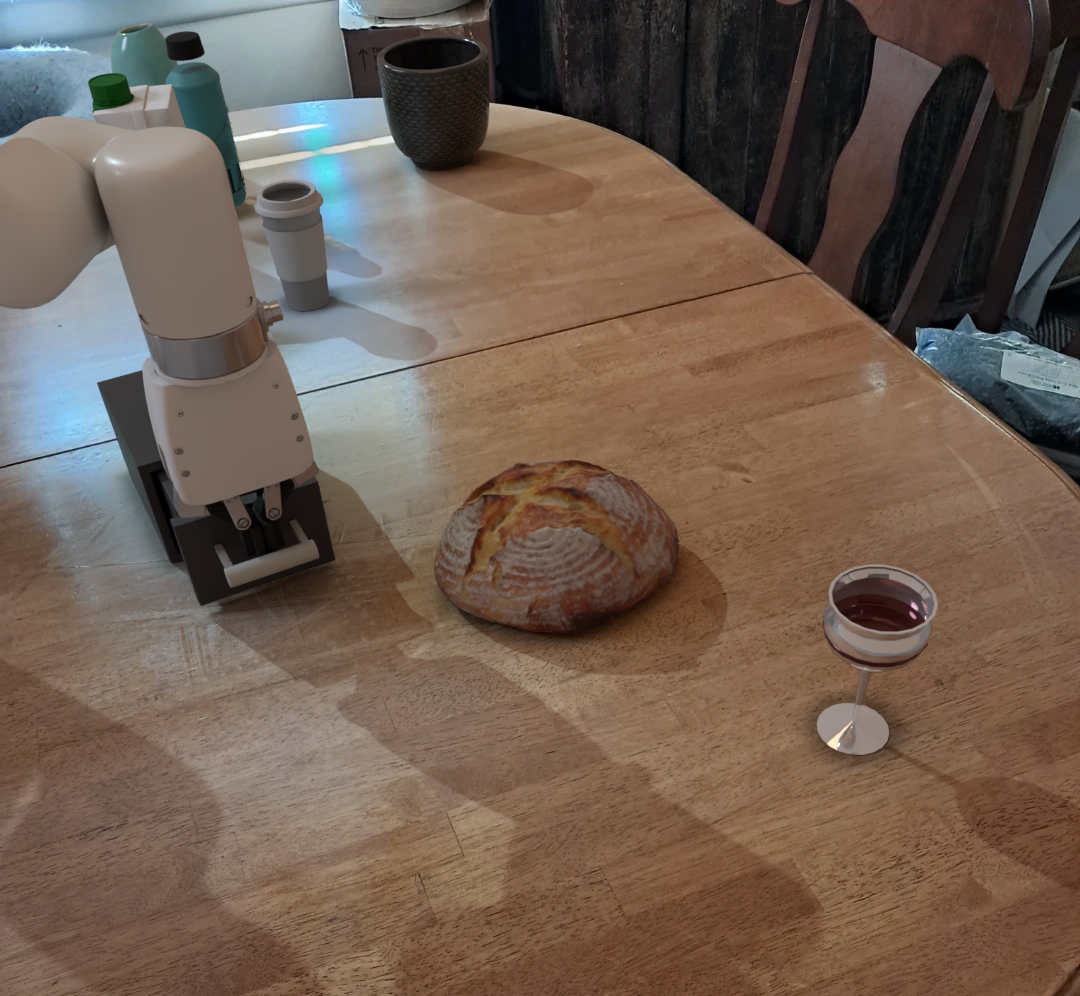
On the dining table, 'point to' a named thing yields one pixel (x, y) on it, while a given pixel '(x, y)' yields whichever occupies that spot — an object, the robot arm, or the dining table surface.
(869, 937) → the dining table surface
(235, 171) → the beverage bottle
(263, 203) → the cup
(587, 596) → the bread
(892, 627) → the wineglass
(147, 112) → the milk carton
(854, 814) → the dining table surface
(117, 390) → the cabinet
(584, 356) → the dining table surface
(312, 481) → the mini filing drawer
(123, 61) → the vase
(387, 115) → the planter
